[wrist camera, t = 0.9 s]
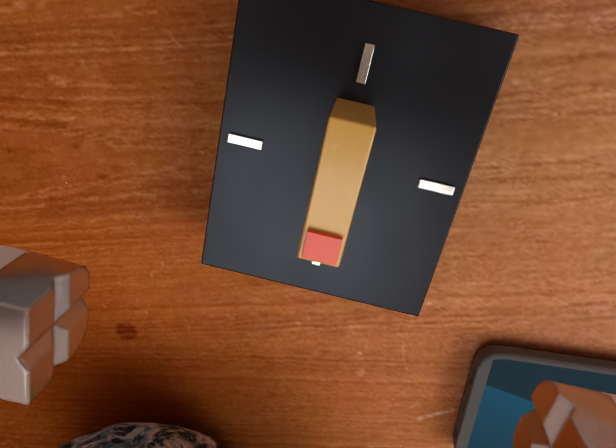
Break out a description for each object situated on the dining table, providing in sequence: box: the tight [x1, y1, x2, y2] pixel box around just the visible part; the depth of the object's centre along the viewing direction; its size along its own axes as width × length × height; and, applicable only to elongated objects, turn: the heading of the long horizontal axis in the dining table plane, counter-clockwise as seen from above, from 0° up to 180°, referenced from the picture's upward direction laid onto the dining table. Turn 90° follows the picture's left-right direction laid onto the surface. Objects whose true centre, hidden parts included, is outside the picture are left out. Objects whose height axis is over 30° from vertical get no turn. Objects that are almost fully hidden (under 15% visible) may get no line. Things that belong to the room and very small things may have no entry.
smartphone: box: [453, 345, 616, 448], centre depth 26 cm, size 8×15×1 cm, turn 85°
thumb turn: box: [297, 98, 376, 267], centre depth 18 cm, size 5×2×4 cm, turn 168°
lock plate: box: [201, 0, 519, 316], centre depth 21 cm, size 12×10×3 cm
